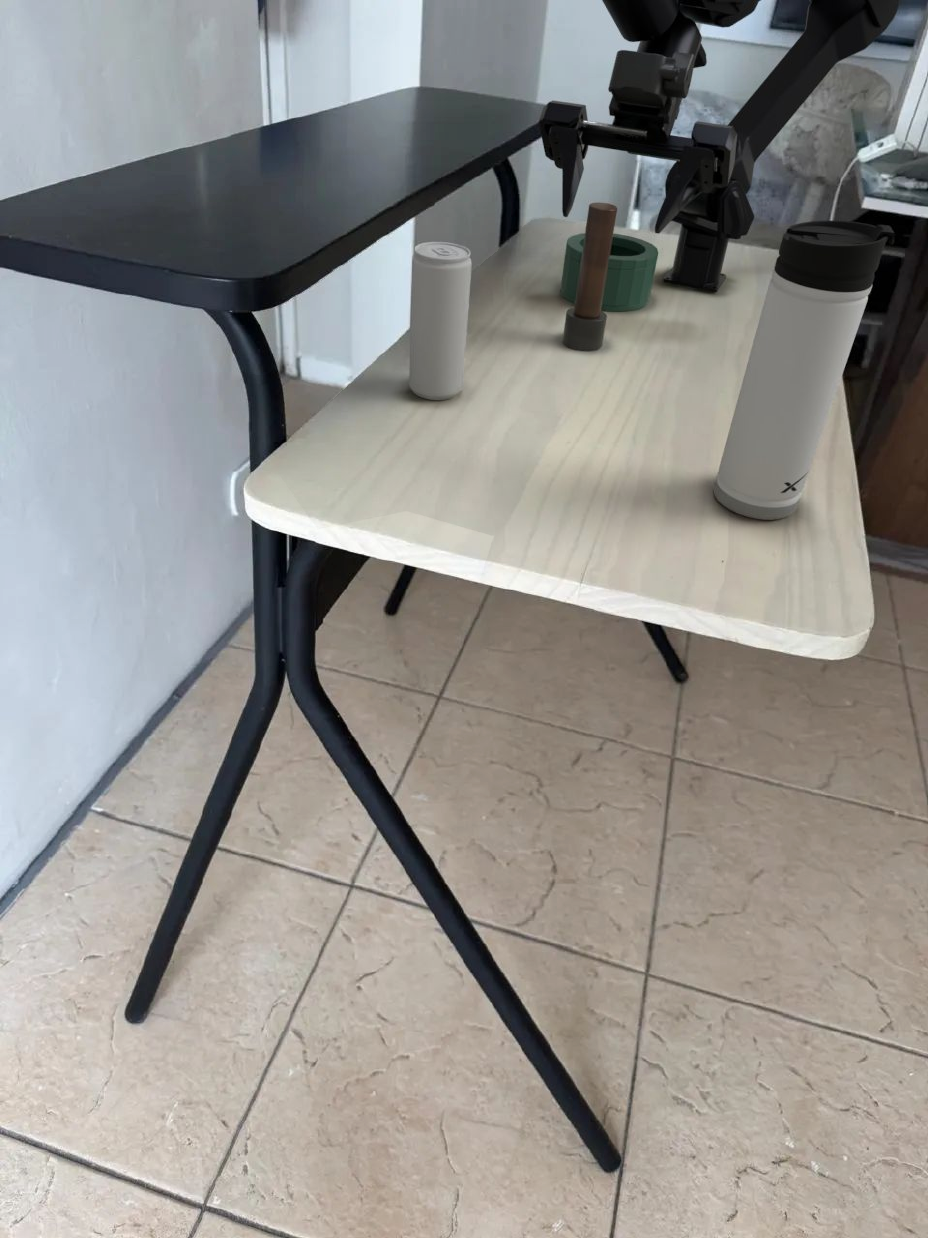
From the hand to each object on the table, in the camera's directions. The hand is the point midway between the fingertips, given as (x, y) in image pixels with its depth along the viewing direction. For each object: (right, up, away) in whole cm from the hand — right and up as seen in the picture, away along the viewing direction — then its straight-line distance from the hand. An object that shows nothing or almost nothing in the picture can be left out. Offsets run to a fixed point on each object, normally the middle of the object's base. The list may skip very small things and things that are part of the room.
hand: (610, 222), depth 89 cm
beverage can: (-17, -18, -7) cm, 26 cm away
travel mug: (+8, -29, -19) cm, 36 cm away
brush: (-2, -10, +4) cm, 11 cm away
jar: (+2, -1, +16) cm, 16 cm away
